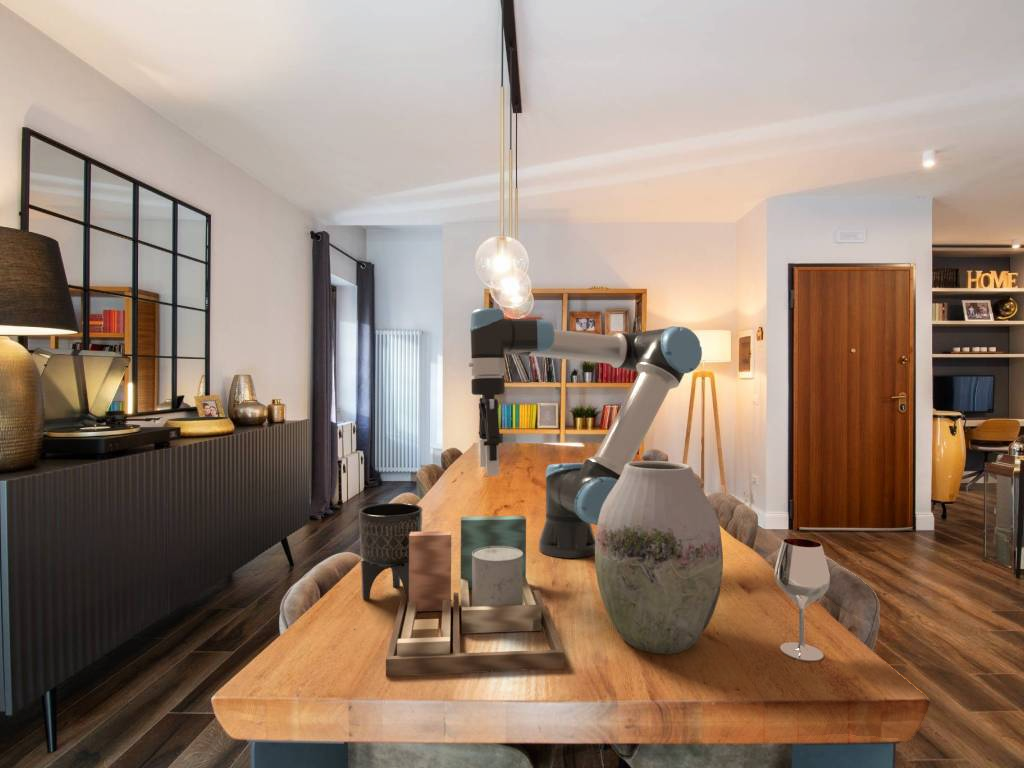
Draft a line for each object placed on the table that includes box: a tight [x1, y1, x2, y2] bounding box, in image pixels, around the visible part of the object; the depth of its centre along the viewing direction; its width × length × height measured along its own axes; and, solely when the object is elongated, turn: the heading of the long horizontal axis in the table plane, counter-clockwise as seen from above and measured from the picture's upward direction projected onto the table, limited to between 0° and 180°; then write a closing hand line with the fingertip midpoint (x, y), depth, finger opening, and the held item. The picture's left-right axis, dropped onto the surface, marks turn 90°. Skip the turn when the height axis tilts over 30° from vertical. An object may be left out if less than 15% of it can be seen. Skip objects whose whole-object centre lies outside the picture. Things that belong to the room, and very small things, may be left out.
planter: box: [358, 502, 423, 602], centre depth 120 cm, size 13×13×18 cm
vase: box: [594, 460, 724, 655], centre depth 100 cm, size 21×21×30 cm
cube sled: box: [397, 530, 452, 656], centre depth 101 cm, size 8×26×14 cm, turn 6°
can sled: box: [459, 515, 542, 634], centre depth 114 cm, size 14×26×14 cm, turn 6°
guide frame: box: [385, 589, 565, 677], centre depth 101 cm, size 27×27×2 cm
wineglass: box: [774, 537, 831, 662], centre depth 95 cm, size 8×8×18 cm
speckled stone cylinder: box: [471, 546, 523, 607], centre depth 108 cm, size 10×10×12 cm
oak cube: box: [412, 618, 440, 638], centre depth 96 cm, size 4×4×4 cm
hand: (489, 470), depth 131 cm, fingers open, 13 cm apart
